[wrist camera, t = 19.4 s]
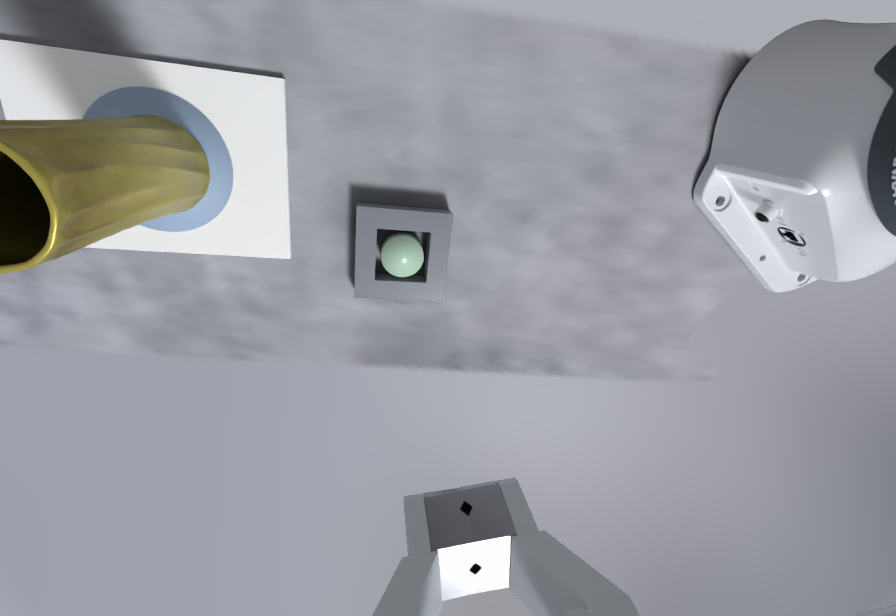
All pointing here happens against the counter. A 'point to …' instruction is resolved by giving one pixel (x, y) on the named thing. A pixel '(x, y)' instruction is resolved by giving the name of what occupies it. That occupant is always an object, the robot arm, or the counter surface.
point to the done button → (402, 254)
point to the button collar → (405, 220)
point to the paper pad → (199, 113)
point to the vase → (90, 182)
